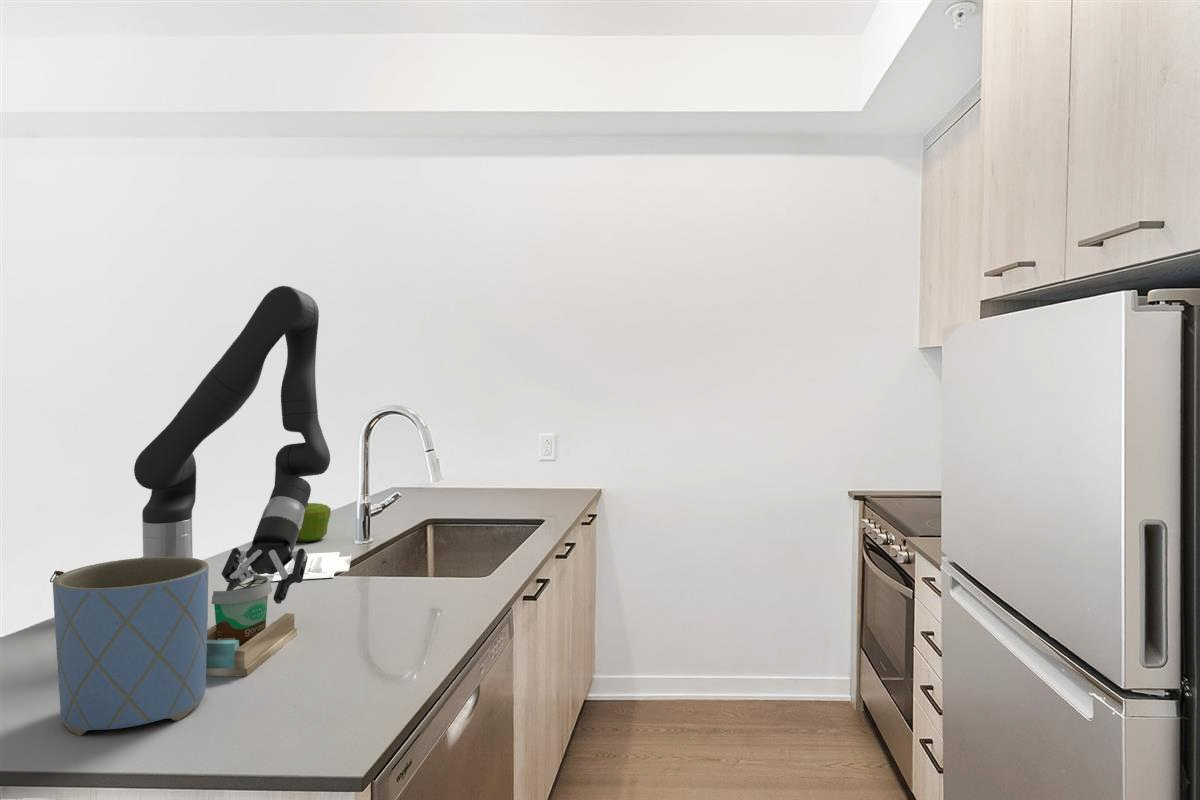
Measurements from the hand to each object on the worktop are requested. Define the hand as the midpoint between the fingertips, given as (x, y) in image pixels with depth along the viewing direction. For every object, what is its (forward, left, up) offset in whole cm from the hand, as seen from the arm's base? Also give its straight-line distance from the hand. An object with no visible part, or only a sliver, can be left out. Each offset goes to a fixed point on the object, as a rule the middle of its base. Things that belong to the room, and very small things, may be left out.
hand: (253, 601), depth 143 cm
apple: (-24, +88, -7) cm, 91 cm away
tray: (-12, +56, -8) cm, 58 cm away
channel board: (0, -6, -7) cm, 10 cm away
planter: (-4, -29, -7) cm, 31 cm away
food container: (+1, -3, -6) cm, 7 cm away
